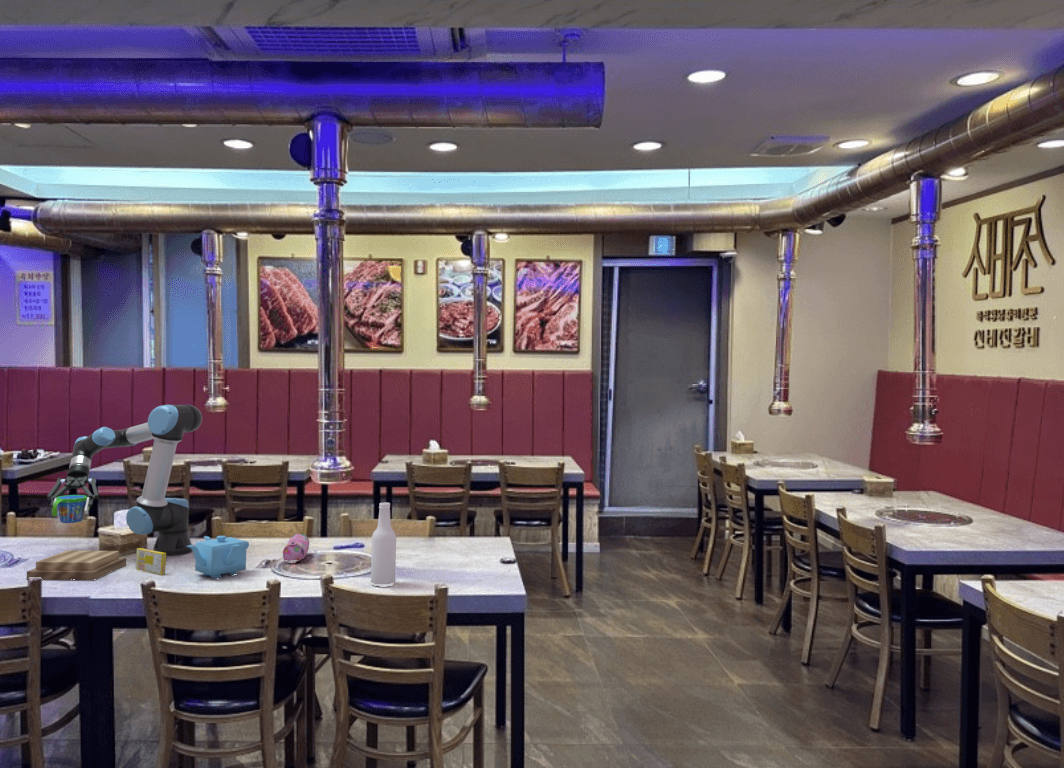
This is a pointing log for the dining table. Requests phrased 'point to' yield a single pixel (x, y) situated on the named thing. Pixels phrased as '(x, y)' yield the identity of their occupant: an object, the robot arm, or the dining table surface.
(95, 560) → the walnut stand
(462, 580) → the dining table surface
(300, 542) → the pencil case
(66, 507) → the snack cup
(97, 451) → the robot arm
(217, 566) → the teakettle
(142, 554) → the candy box
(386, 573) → the alcohol
